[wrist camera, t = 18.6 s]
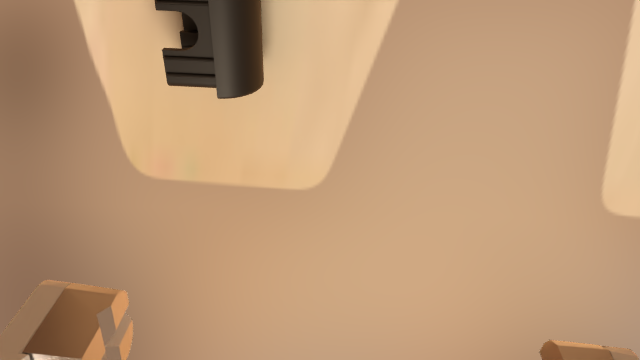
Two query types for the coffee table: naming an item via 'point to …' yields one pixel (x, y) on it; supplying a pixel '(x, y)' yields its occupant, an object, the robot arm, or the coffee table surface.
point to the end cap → (217, 46)
